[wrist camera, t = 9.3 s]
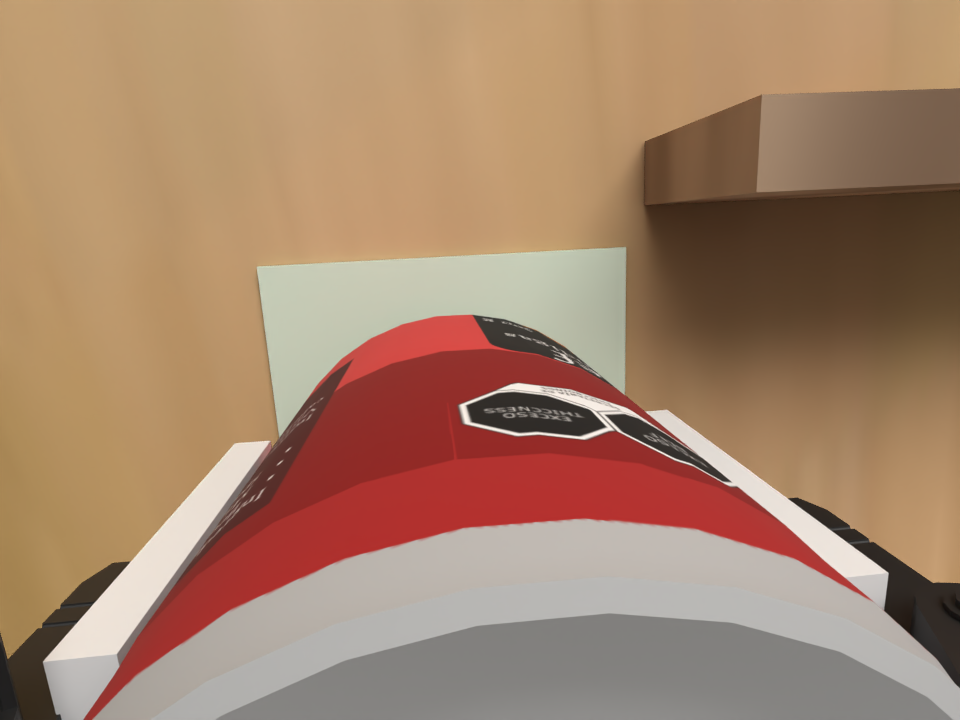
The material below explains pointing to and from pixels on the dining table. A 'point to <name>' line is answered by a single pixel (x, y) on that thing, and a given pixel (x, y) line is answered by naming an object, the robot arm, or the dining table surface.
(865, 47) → the dining table surface
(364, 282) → the pad
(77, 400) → the dining table surface
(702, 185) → the wooden walled channel
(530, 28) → the dining table surface
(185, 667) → the canned food
